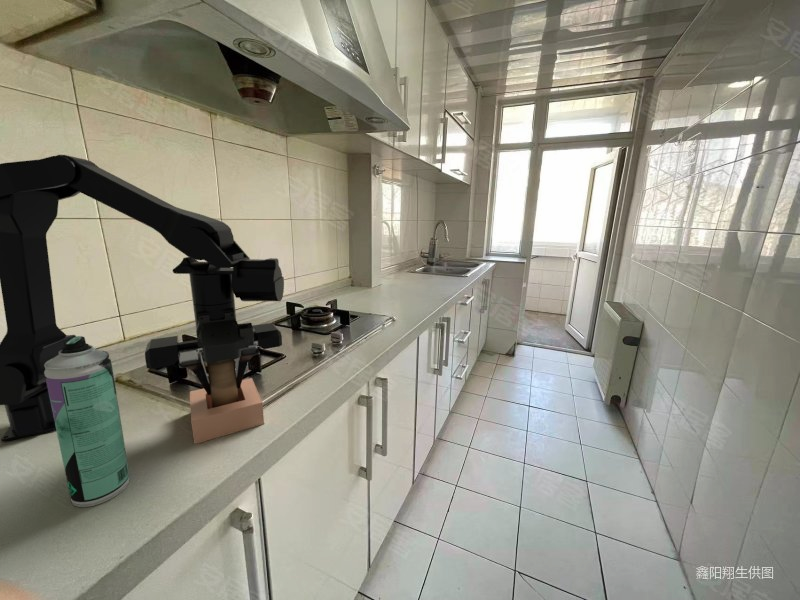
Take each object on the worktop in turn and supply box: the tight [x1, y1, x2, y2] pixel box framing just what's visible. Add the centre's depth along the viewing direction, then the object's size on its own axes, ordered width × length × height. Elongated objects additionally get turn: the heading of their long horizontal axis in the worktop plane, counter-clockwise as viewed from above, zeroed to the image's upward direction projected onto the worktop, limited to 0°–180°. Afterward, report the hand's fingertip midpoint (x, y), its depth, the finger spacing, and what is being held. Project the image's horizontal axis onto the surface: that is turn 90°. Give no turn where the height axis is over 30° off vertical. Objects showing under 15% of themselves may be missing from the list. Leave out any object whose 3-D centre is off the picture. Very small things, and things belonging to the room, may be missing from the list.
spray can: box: [44, 335, 131, 508], centre depth 39 cm, size 6×6×20 cm
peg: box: [206, 359, 239, 408], centre depth 55 cm, size 4×4×8 cm
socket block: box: [189, 377, 265, 445], centre depth 56 cm, size 10×10×4 cm
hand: (224, 390), depth 55 cm, fingers closed on peg, 4 cm apart
